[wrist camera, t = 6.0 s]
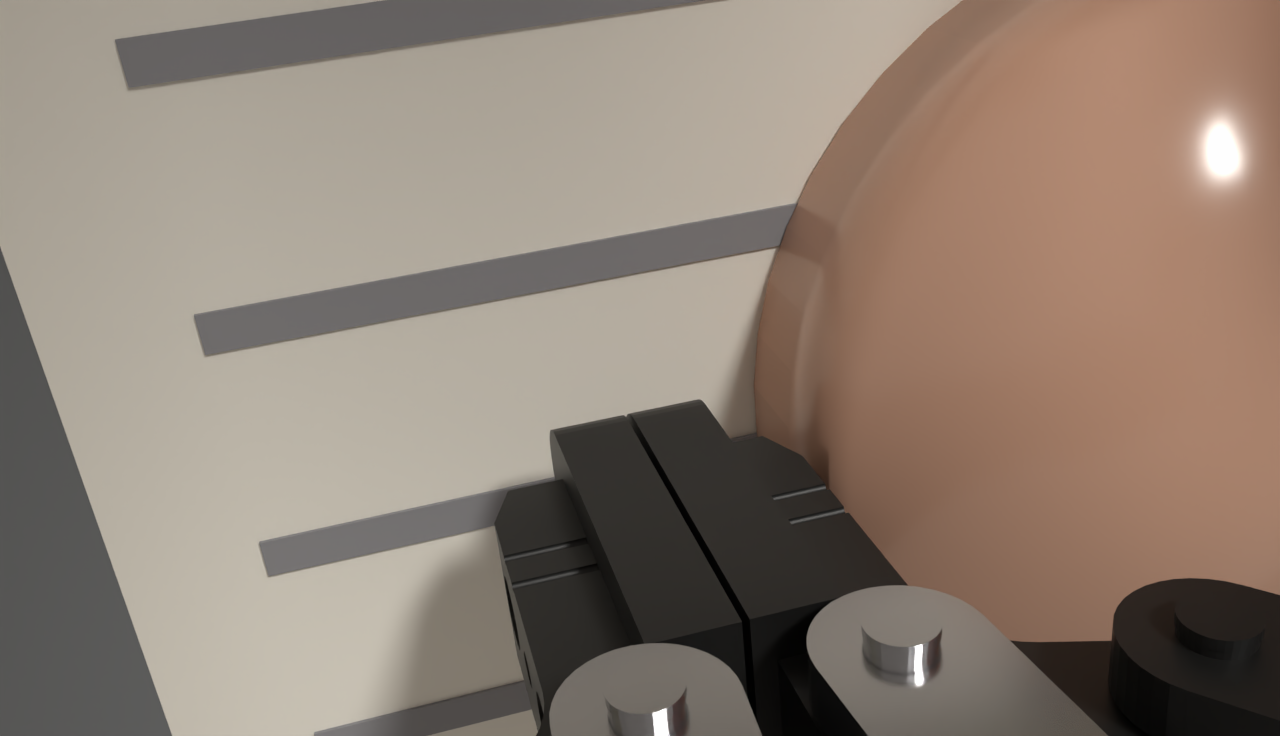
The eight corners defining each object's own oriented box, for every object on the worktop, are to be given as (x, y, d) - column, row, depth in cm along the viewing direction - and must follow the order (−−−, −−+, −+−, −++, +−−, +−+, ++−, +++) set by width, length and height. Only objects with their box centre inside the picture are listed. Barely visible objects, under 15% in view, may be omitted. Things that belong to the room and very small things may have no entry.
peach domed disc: (698, 11, 11) (798, 57, 9) (1523, -166, 13) (1783, -164, 10) (798, 747, 15) (885, 904, 13) (1419, 548, 17) (1593, 659, 14)
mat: (-625, -278, 9) (-693, -285, 8) (2108, -529, 13) (2192, -545, 13) (87, 1176, 16) (78, 1228, 15) (1695, 692, 21) (1737, 718, 20)
